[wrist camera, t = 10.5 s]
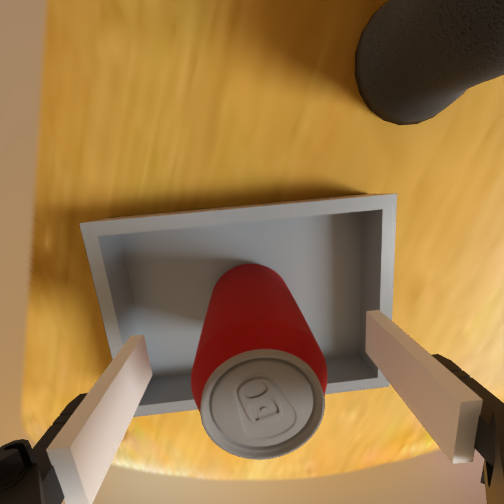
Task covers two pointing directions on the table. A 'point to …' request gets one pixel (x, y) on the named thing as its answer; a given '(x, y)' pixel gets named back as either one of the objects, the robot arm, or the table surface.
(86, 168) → the table surface
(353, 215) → the bin
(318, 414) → the beverage can
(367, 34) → the mug
